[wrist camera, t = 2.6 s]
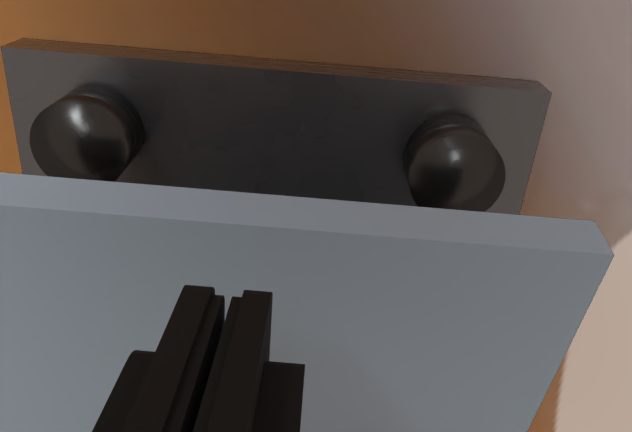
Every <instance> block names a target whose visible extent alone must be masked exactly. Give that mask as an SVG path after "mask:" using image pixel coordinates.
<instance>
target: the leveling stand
mask: <svg viewBox="0 0 632 432" xmlns="http://www.w3.org/2000/svg"><path fill="white" fill-rule="evenodd" d="M1 51H2V57H3V63H4V69H5V75H6V80H7V86H8V92H9V98H10V104H11V109H12V115H13V121H14V127H15V132H16V138H17V144H18V150H19V156H20V161H21V167H22V173H23V174H25V175H37V176H49V177H62V178H74V179H86V180H98V181H111V182H123V183H135V184H147V185H159V186H172V187H184V188H196V189H208V190H221V191H233V192H245V193H257V194H270V195H282V196H294V197H306V198H318V199H331V200H343V201H355V202H367V203H380V204H392V205H404V206H416V207H429V208H441V209H453V210H465V211H477V212H490V213H502V214H514V215H519V213H520V209H521V206H522V202H523V198H524V194H525V191H526V187H527V183H528V180H529V176H530V172H531V168H532V165H533V161H534V157H535V153H536V150H537V146H538V142H539V139H540V135H541V131H542V127H543V124H544V120H545V116H546V112H547V109H548V105H549V101H550V98H551V94H552V93H551V92H550V91H549V90H548V89H547V88H545V87H544V86H543V85H542V84H541V83H539V82H538V81H531V80H519V79H507V78H495V77H483V76H471V75H459V74H447V73H435V72H423V71H411V70H399V69H387V68H375V67H363V66H351V65H339V64H327V63H315V62H303V61H291V60H279V59H267V58H255V57H243V56H231V55H219V54H207V53H195V52H183V51H171V50H159V49H147V48H135V47H123V46H111V45H99V44H87V43H75V42H63V41H51V40H39V39H27V38H22V39H19V40H17V41H14V42H12V43H9V44H7V45H5V46H2V47H1Z"/></svg>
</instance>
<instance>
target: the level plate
mask: <svg viewBox="0 0 632 432" xmlns="http://www.w3.org/2000/svg"><path fill="white" fill-rule="evenodd" d="M613 257H614V254H613V252H612V250H611V248H610V247H609V245H608V243H607V241H606V239H605V238H604V236H603V234H602V232H601V231H600V229H599V227H598V225H597V224H596V222H595V221H587V220H575V219H563V218H551V217H539V216H526V215H514V214H502V213H490V212H477V211H465V210H453V209H441V208H429V207H416V206H404V205H392V204H380V203H367V202H355V201H343V200H331V199H318V198H306V197H294V196H282V195H270V194H257V193H245V192H233V191H221V190H208V189H196V188H184V187H172V186H159V185H147V184H135V183H123V182H111V181H98V180H86V179H74V178H62V177H49V176H37V175H25V174H13V173H0V432H92V430H93V428H94V426H95V424H96V422H97V420H98V418H99V416H100V414H101V412H102V410H103V408H104V406H105V404H106V402H107V400H108V398H109V396H110V394H111V392H112V389H113V387H114V385H115V383H116V381H117V379H118V377H119V375H120V373H121V371H122V369H123V367H124V365H125V363H126V361H127V359H128V357H129V355H130V354H131V352H133V351H134V350H141V351H153V352H155V351H156V349H157V347H158V344H159V342H160V340H161V337H162V335H163V333H164V330H165V328H166V326H167V323H168V321H169V319H170V317H171V314H172V312H173V310H174V307H175V305H176V303H177V300H178V298H179V296H180V293H181V291H182V289H183V287H184V285H195V286H207V287H214V289H215V295H224V298H225V319H226V315H227V312H228V308H229V305H230V301H231V298H232V296H236V297H242V295H243V291H244V290H254V291H266V292H272V293H273V298H272V319H271V338H270V357H269V361H273V362H285V363H297V364H305V374H304V387H303V400H302V412H301V425H300V432H527V431H528V429H529V427H530V425H531V423H532V421H533V419H534V417H535V415H536V413H537V411H538V409H539V407H540V405H541V403H542V401H543V398H544V396H545V394H546V392H547V390H548V388H549V386H550V384H551V382H552V380H553V378H554V376H555V374H556V372H557V370H558V368H559V366H560V364H561V362H562V360H563V358H564V356H565V354H566V352H567V350H568V348H569V346H570V344H571V342H572V340H573V338H574V336H575V334H576V332H577V330H578V328H579V326H580V324H581V322H582V319H583V318H584V315H585V313H586V311H587V309H588V307H589V305H590V303H591V301H592V299H593V297H594V295H595V293H596V291H597V289H598V287H599V285H600V283H601V281H602V279H603V277H604V275H605V273H606V271H607V269H608V267H609V265H610V263H611V261H612V259H613Z"/></svg>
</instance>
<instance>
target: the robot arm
mask: <svg viewBox="0 0 632 432" xmlns="http://www.w3.org/2000/svg"><path fill="white" fill-rule="evenodd" d="M272 298H273V293H272V292H266V291H254V290H244V291H243V295H242V297H236V296H232V298H231V301H230V305H229V308H228V312H227V315H226V319H225V298H224V295H215V289H214V287H207V286H195V285H184V287H183V289H182V291H181V293H180V296H179V298H178V300H177V303H176V305H175V307H174V310H173V312H172V314H171V317H170V319H169V321H168V323H167V326H166V328H165V330H164V333H163V335H162V337H161V340H160V342H159V344H158V347H157V349H156V351H155V352H153V351H141V350H134V351H133V352H131V354H130V355H129V357H128V359H127V361H126V363H125V365H124V367H123V369H122V371H121V373H120V375H119V377H118V379H117V381H116V383H115V385H114V387H113V389H112V392H111V394H110V396H109V398H108V400H107V402H106V404H105V406H104V408H103V410H102V412H101V414H100V416H99V418H98V420H97V422H96V424H95V426H94V428H93V430H92V432H300V425H301V412H302V400H303V387H304V374H305V364H297V363H285V362H273V361H269V357H270V338H271V319H272Z"/></svg>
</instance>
